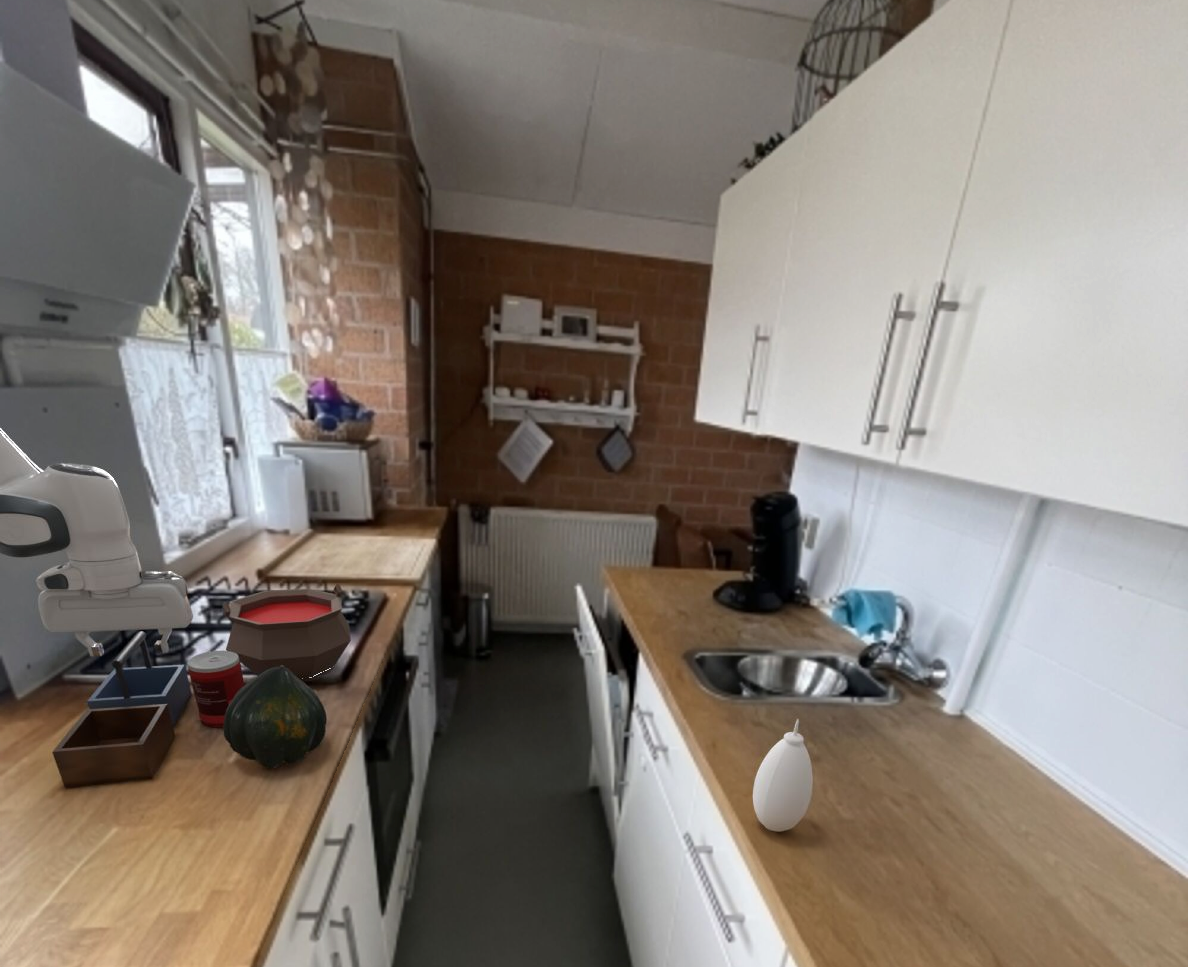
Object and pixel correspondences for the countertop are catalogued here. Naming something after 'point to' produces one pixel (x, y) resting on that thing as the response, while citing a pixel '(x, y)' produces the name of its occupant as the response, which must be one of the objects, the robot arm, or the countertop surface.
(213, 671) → the canned food
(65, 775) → the bottom basket
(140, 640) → the top basket
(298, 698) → the squash
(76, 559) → the robot arm
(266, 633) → the brown soup pot
